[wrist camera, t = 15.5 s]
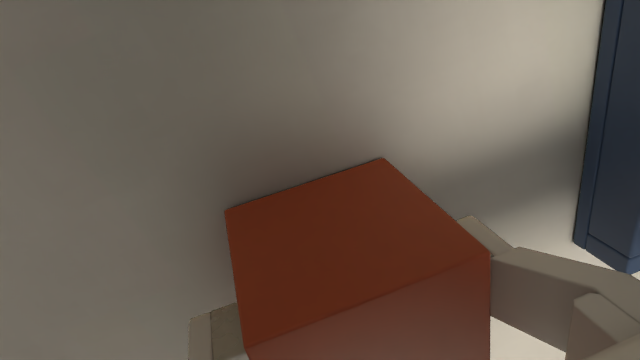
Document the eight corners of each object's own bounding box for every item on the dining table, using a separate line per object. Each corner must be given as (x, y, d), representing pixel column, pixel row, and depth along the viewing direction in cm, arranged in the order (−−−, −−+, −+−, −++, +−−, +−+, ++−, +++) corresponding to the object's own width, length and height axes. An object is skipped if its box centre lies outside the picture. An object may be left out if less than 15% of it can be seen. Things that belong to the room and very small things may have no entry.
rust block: (223, 209, 10) (242, 348, 6) (383, 156, 11) (492, 250, 7) (269, 327, 12) (306, 485, 8) (401, 277, 13) (490, 401, 9)
